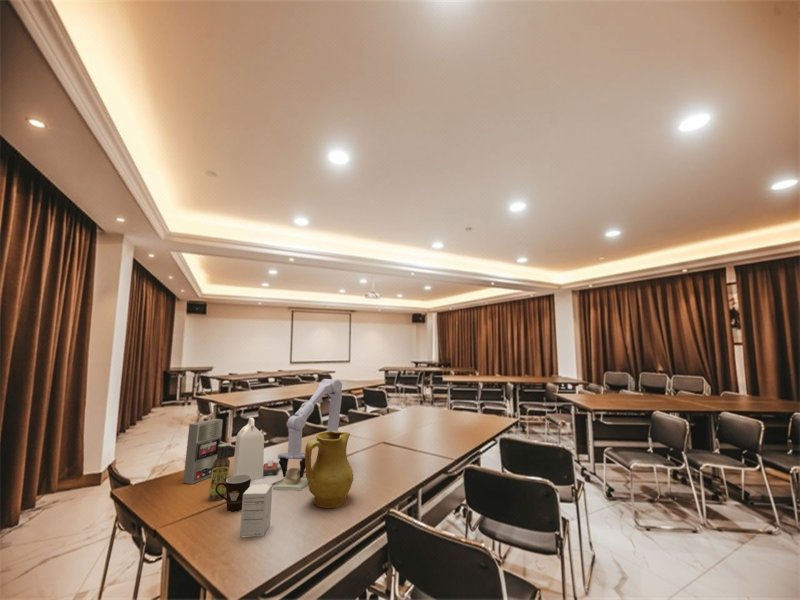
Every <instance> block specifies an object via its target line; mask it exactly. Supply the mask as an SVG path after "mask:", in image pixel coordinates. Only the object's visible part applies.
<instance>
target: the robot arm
mask: <svg viewBox="0 0 800 600" xmlns="http://www.w3.org/2000/svg"><path fill="white" fill-rule="evenodd" d="M342 389H343V383H342V381H340V379H332V378H331V379H330V378H323V379H322V380H321V381H320V383H319V384H318V388H317V389H316V390H315V392H314V393H313V394H312V396H310V399H309V400H308V401H305V402H303V403H302V404H301V405H300V407H299V409H298V410H297V411H296V412H295V413H294V415H291V416H290V417H289V418H288V419H287V421H286V427H287V428H288V430H287V431H288V443H287V452H285V453H284V452H282V453H281V452H280V453H278V454H277V460H278V464H280V466H281V472H282V477H283V478H284V477H286V471H288V463H289V460H300V461H299V468H300V478H302V477H304V474H305V471H306V468H305V452H302V443H303V442H302V441H303V428H304V427H306V423H307V419H308V418H309V417H310V415H312V413H313V412H314V410H315V405H316V404H317V403H318V402H319V401H320V400H321V399H322V398H323V397H324V395H328V396H329V398H330V402H329V403H330V404H329V410H328V420H327V427H326V431H333V432H340V431H339V423H340V417H341V416H340V415H341V406H342V397H343V392H342Z"/></svg>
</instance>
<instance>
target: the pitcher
mask: <svg viewBox="0 0 800 600" xmlns="http://www.w3.org/2000/svg"><path fill="white" fill-rule="evenodd" d="M350 435H351V433H350V432H348V431H346V432H345V431H343V432H342V431H339V432H333V431H322V432H318V433H316V434H315V437H316V439H310V440H308V441H307V443H306V445H305V452H304V453H305V477H306V478H307V481H308V483H307V485H308V490H309V492H310V493H311V494H312V495H313V496H314V498H313V504H315V506H317V507H320V508H324V509H332V508H333V509H335V508H337V507H341V506H342V505H344V504H345V502H346V500H347V498H346V497H347V495H348V493H349V491H350V490H351V488H352V485H353V481H354V472H353V469H352V466H351V464H350V462H349V460H348V456H347V446H348V441H349V439H350V438H349V437H350ZM315 448H318V449H317V455H316V459H315V462H314V463H313V465H312V453H313V452H312V451H313V449H315Z"/></svg>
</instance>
